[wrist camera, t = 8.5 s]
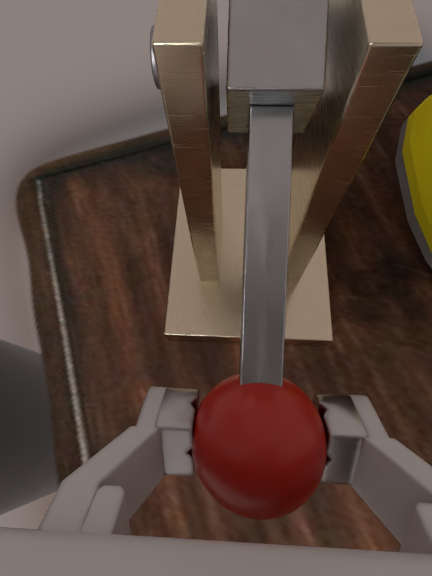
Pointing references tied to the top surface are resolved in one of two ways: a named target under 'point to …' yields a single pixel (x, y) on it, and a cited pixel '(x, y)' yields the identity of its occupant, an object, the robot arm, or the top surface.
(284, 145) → the switch lever
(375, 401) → the top surface
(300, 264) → the switch bracket
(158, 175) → the top surface
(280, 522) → the top surface
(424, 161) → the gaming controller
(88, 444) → the top surface
